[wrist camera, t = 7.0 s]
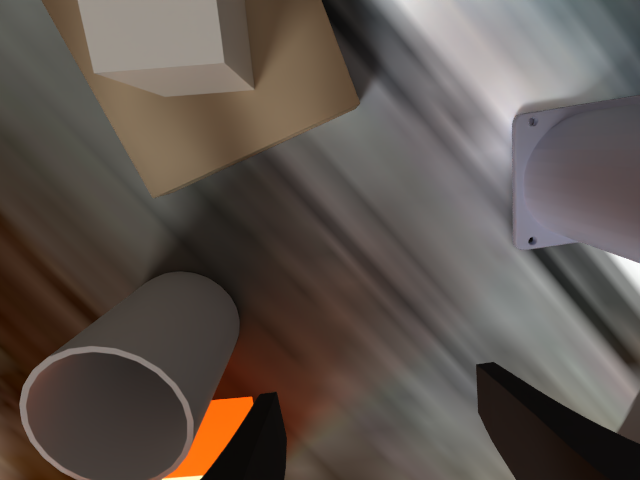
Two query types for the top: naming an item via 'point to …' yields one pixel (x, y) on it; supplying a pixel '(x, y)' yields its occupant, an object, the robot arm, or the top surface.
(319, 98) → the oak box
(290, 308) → the top surface
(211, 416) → the orange juice
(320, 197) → the top surface
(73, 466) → the cup
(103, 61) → the ceramic block
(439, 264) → the top surface
